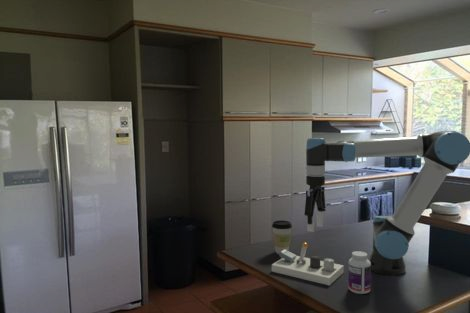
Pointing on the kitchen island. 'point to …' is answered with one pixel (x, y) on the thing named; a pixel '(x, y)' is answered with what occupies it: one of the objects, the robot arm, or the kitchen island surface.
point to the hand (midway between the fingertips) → (315, 228)
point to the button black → (315, 262)
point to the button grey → (328, 265)
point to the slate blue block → (287, 255)
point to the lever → (303, 252)
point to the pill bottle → (359, 273)
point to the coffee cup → (281, 235)
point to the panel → (307, 270)
